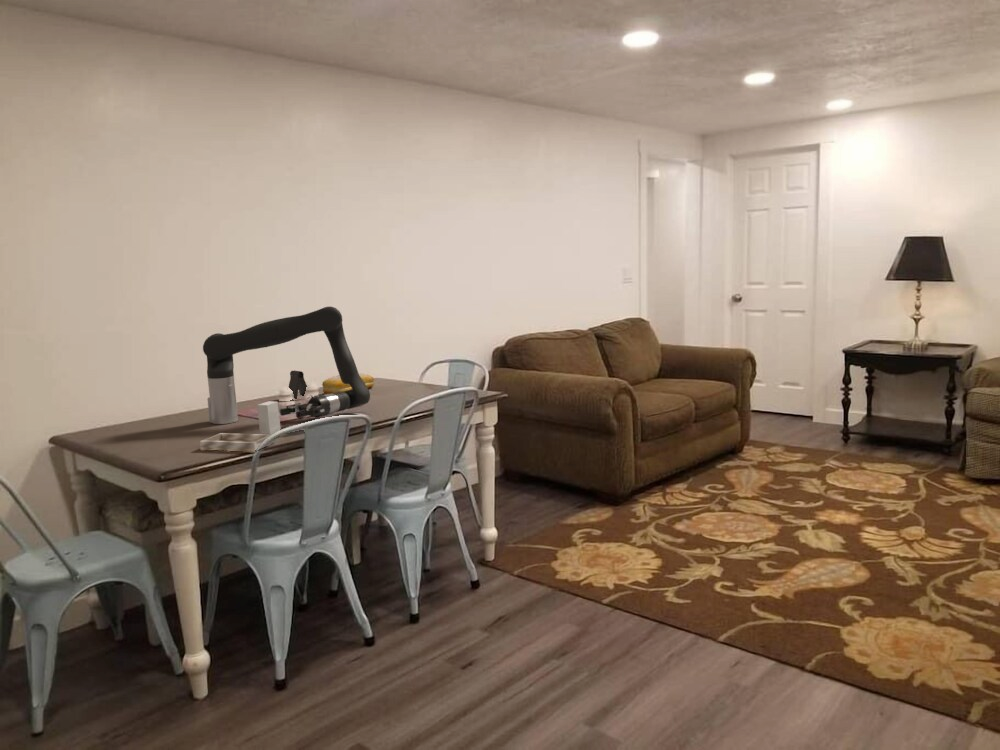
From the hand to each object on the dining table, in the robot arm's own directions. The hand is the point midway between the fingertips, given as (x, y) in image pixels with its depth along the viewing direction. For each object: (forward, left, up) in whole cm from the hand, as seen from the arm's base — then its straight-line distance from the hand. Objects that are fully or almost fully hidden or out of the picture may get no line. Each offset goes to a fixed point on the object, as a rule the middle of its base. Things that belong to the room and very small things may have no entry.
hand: (288, 413), depth 261 cm
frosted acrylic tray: (-7, -21, -7) cm, 23 cm away
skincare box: (-3, -8, -7) cm, 11 cm away
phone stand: (-30, +57, -7) cm, 65 cm away
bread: (-15, +74, -7) cm, 76 cm away
